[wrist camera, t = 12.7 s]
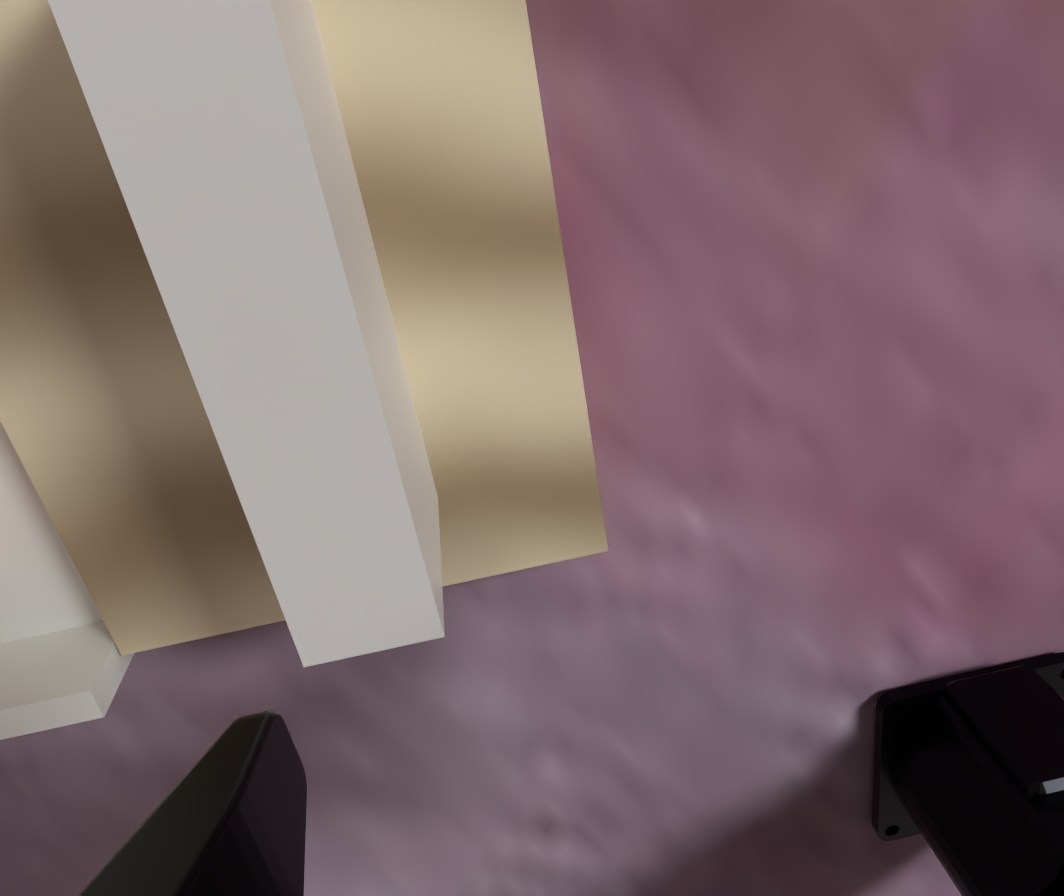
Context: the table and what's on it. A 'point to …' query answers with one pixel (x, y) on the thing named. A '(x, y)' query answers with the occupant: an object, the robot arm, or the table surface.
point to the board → (412, 291)
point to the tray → (46, 619)
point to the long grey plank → (273, 300)
